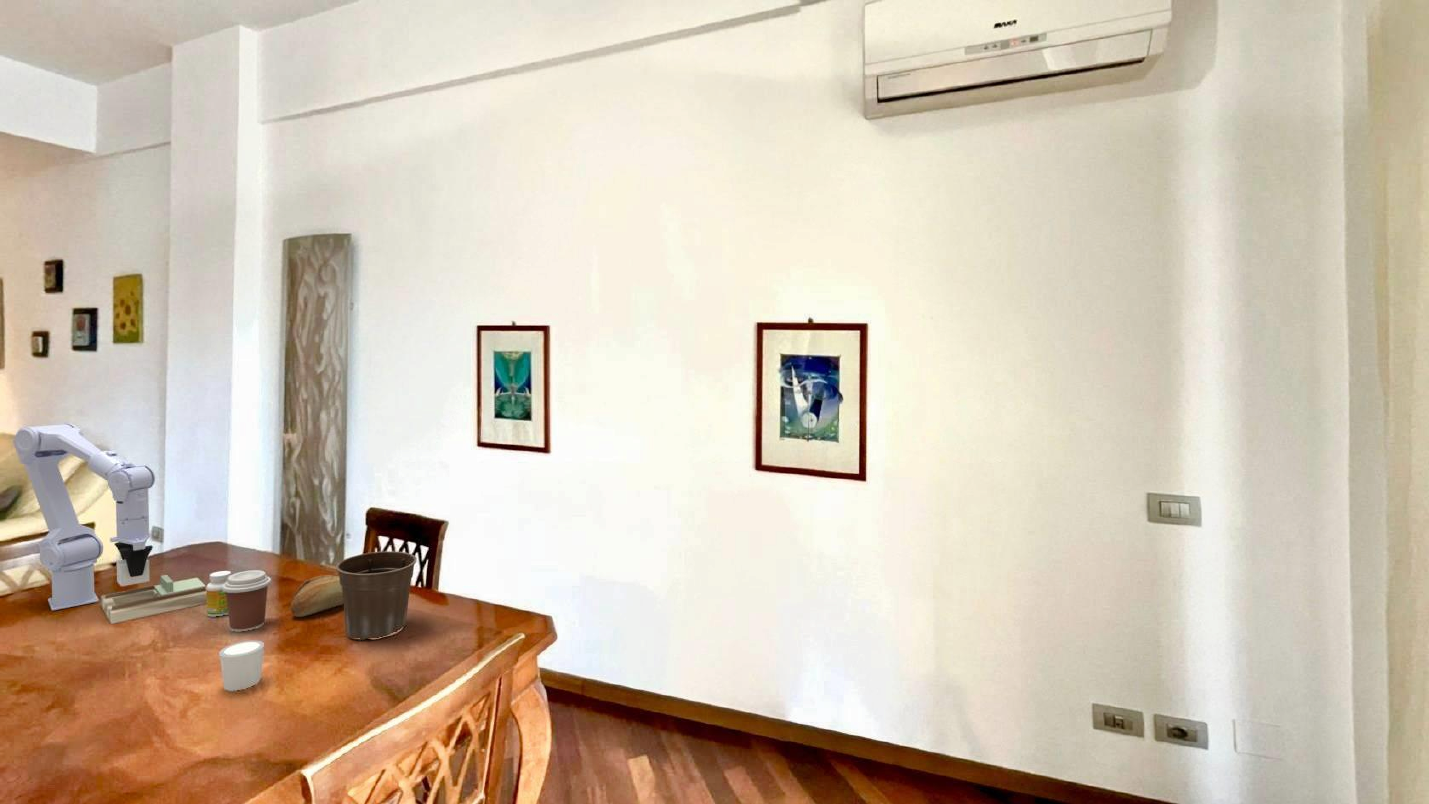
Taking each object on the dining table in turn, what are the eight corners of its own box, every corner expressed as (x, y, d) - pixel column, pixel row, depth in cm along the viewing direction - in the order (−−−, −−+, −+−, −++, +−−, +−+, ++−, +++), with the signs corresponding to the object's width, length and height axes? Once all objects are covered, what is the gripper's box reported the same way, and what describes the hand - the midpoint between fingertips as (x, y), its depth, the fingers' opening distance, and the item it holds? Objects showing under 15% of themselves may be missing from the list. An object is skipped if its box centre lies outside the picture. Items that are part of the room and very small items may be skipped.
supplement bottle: (219, 618, 147) (218, 578, 146) (200, 616, 148) (200, 576, 147) (240, 609, 152) (240, 570, 151) (222, 607, 153) (222, 568, 152)
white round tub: (235, 674, 122) (235, 639, 122) (272, 674, 123) (272, 639, 122) (210, 693, 115) (209, 656, 115) (249, 692, 116) (249, 656, 115)
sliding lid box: (101, 606, 151) (100, 592, 151) (195, 587, 165) (195, 574, 165) (111, 624, 142) (111, 609, 142) (210, 602, 156) (210, 589, 156)
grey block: (117, 581, 149) (116, 560, 149) (144, 576, 153) (144, 556, 153) (121, 586, 146) (120, 565, 146) (149, 581, 150) (149, 560, 150)
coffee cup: (232, 638, 137) (231, 585, 136) (215, 627, 142) (214, 576, 141) (279, 624, 145) (278, 573, 144) (261, 614, 150) (260, 565, 149)
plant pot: (431, 624, 147) (432, 557, 146) (368, 652, 133) (368, 578, 132) (385, 611, 154) (385, 547, 153) (320, 635, 140) (319, 565, 139)
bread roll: (278, 616, 149) (278, 584, 149) (337, 596, 163) (337, 566, 162) (305, 624, 145) (305, 591, 145) (363, 602, 159) (363, 571, 159)
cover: (154, 589, 156) (153, 576, 156) (197, 580, 163) (197, 568, 163) (161, 598, 151) (161, 584, 151) (205, 589, 158) (205, 576, 157)
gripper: (104, 514, 150) (105, 569, 151) (115, 526, 141) (116, 584, 142) (143, 510, 156) (144, 563, 157) (156, 520, 147) (157, 577, 148)
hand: (134, 573), depth 150 cm, fingers closed on grey block, 5 cm apart
